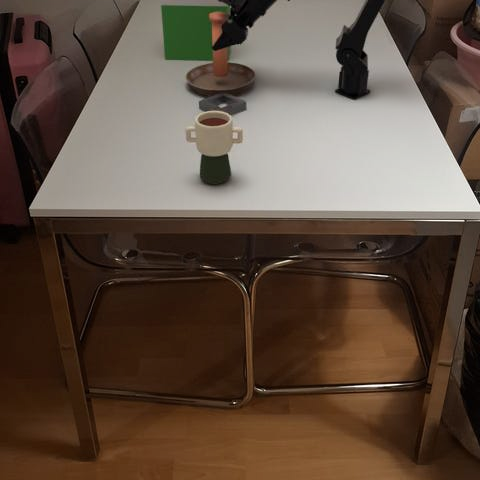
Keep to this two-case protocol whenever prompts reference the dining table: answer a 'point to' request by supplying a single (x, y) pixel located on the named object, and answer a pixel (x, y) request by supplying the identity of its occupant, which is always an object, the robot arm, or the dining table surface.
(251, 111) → the dining table surface
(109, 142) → the dining table surface
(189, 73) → the plant saucer
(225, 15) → the stop pin
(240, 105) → the collar
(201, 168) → the cream and green cup
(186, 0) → the hardback book
